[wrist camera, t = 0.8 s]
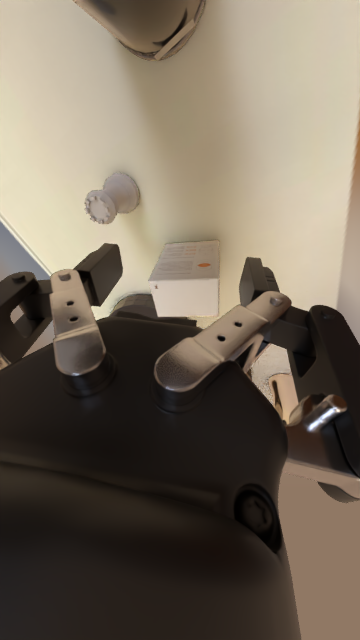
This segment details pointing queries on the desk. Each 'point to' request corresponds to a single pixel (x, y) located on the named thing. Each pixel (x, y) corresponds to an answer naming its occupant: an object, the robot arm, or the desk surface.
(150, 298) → the pan
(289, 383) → the silver metal cup
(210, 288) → the small box
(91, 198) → the rook chess piece
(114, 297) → the desk surface
